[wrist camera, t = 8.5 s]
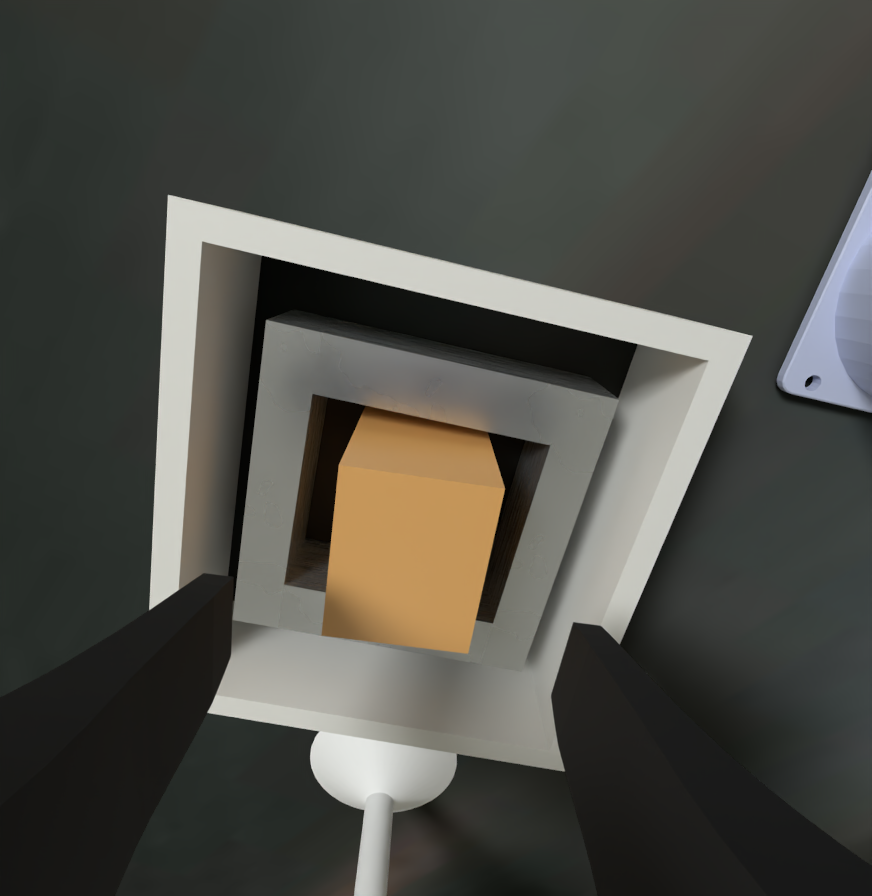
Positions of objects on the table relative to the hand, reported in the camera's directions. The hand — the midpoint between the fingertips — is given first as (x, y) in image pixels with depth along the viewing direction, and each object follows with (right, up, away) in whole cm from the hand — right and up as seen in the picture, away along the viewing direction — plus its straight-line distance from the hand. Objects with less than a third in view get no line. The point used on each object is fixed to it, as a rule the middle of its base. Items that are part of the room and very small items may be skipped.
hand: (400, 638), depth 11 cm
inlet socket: (0, +3, +8) cm, 8 cm away
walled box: (0, +3, +8) cm, 8 cm away
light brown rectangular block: (0, +3, +8) cm, 9 cm away
